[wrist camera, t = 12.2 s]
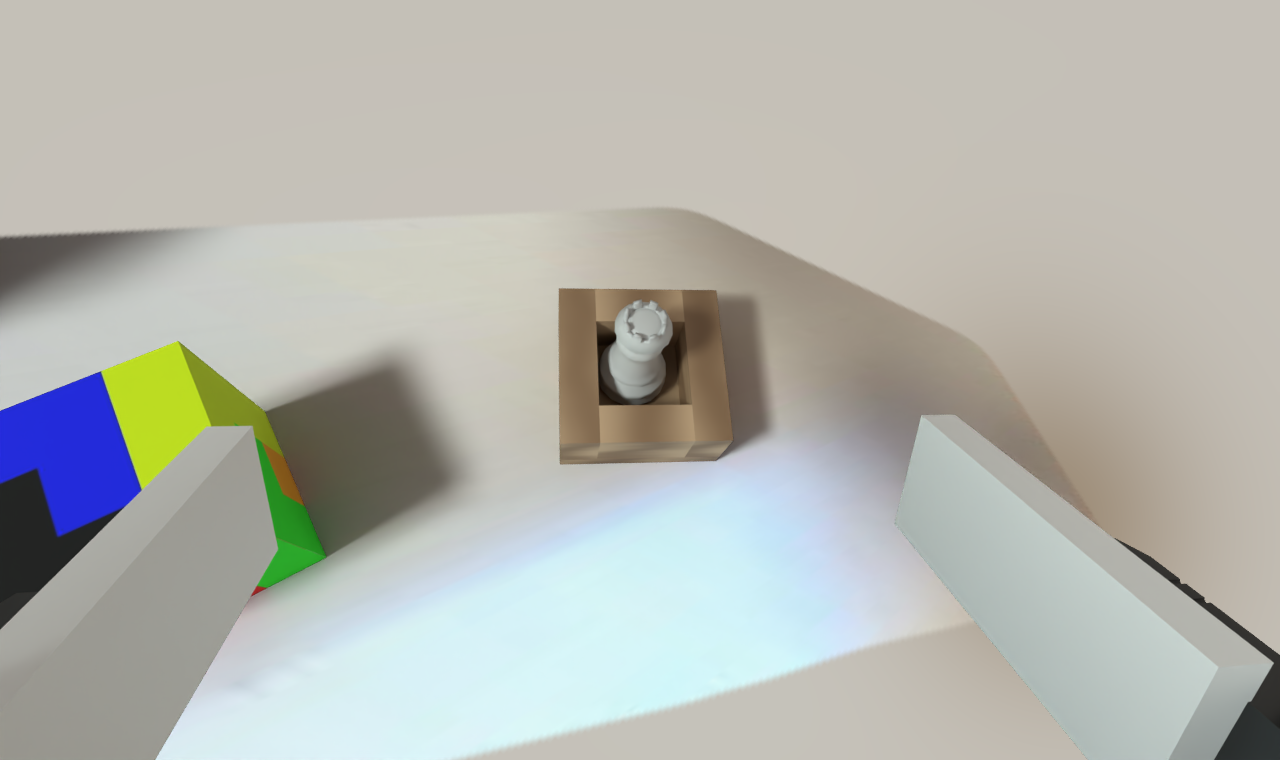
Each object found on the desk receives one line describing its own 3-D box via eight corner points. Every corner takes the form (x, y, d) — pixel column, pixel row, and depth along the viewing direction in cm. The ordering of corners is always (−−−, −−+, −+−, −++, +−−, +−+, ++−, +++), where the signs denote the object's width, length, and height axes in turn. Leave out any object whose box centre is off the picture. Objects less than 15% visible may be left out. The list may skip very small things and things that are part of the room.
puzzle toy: (85, 490, 37) (-71, 438, 28) (265, 411, 40) (178, 341, 31) (137, 654, 34) (-17, 657, 25) (326, 557, 37) (251, 527, 28)
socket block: (559, 464, 41) (560, 443, 36) (558, 321, 44) (558, 288, 40) (715, 460, 42) (733, 440, 38) (701, 322, 46) (716, 290, 41)
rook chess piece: (621, 333, 43) (635, 269, 36) (677, 370, 43) (702, 312, 36) (582, 382, 42) (588, 326, 34) (639, 421, 41) (657, 372, 34)
